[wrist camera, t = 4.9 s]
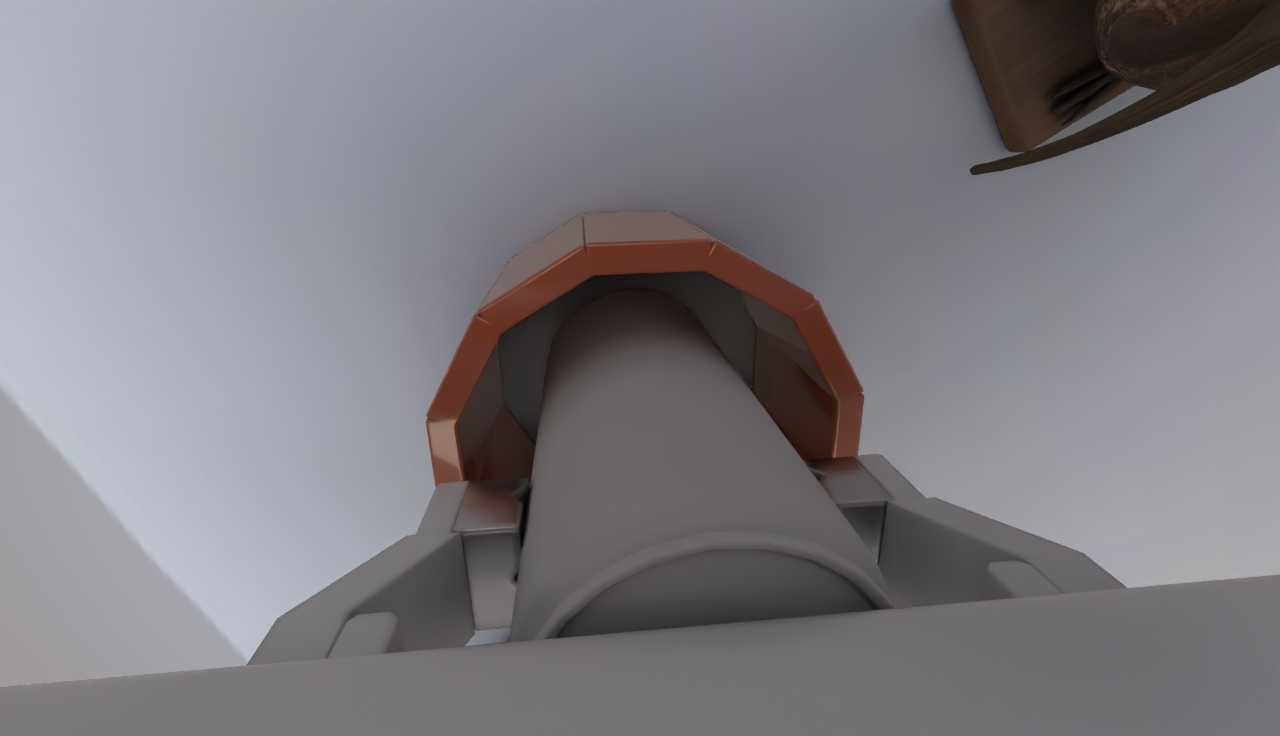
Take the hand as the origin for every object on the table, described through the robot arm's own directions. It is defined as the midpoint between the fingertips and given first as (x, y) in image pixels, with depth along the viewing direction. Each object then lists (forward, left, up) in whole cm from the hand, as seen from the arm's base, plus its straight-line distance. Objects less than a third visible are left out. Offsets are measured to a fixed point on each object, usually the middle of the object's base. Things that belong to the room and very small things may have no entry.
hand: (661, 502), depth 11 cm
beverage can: (0, 0, -8) cm, 8 cm away
